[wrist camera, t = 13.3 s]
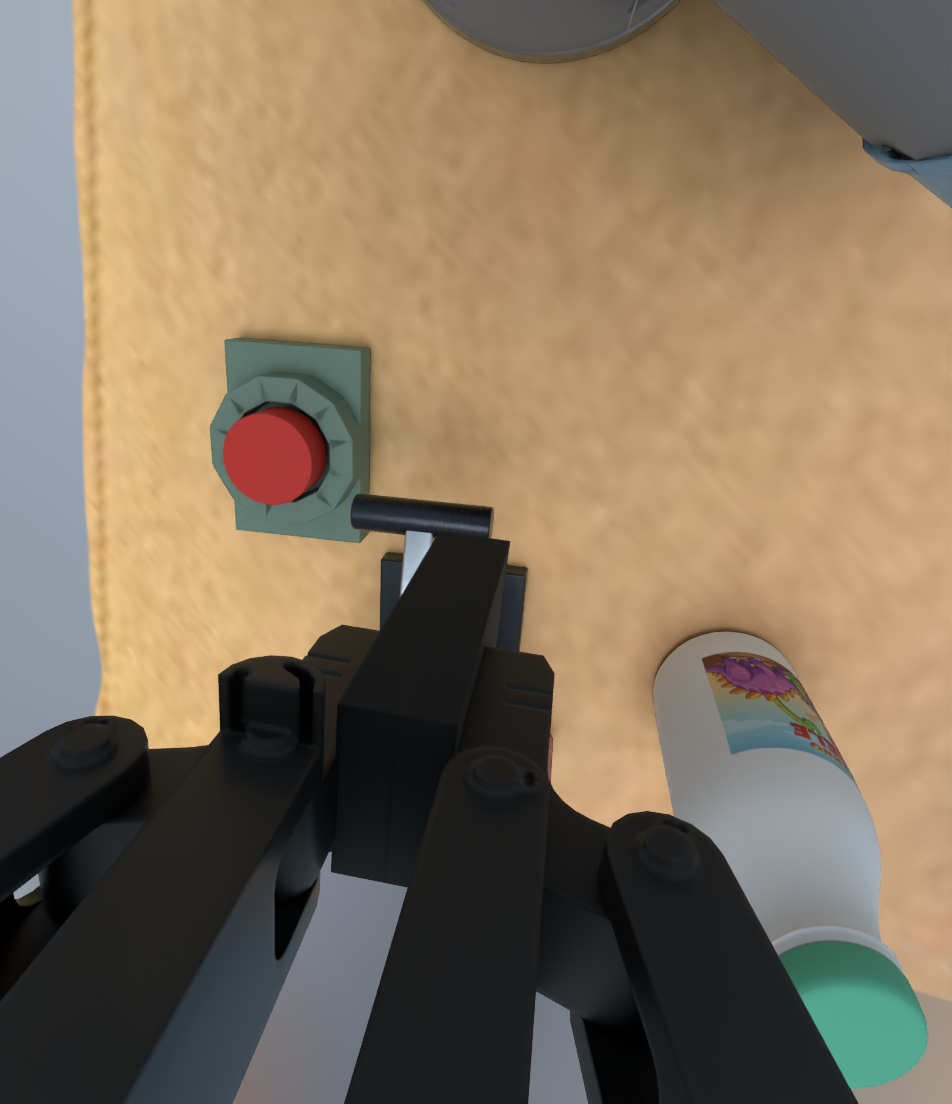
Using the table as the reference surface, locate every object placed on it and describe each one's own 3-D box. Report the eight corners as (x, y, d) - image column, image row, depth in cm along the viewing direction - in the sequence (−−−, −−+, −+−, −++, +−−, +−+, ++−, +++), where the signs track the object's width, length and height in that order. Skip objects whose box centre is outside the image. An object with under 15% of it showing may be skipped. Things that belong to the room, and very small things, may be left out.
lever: (365, 493, 29) (347, 492, 27) (496, 507, 28) (490, 507, 26) (338, 797, 30) (320, 822, 28) (464, 816, 29) (456, 843, 27)
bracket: (386, 552, 39) (282, 691, 25) (527, 567, 38) (499, 721, 25) (383, 703, 43) (290, 898, 29) (512, 721, 42) (480, 930, 28)
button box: (236, 337, 36) (202, 341, 33) (373, 348, 35) (352, 353, 32) (247, 520, 40) (217, 540, 36) (371, 533, 39) (352, 555, 36)
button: (239, 402, 34) (219, 409, 32) (326, 410, 34) (311, 417, 32) (244, 489, 36) (225, 500, 34) (327, 498, 35) (313, 509, 33)
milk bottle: (713, 768, 41) (824, 1160, 22) (622, 684, 40) (660, 1023, 21) (824, 691, 38) (1052, 1065, 20) (729, 599, 37) (878, 902, 19)
